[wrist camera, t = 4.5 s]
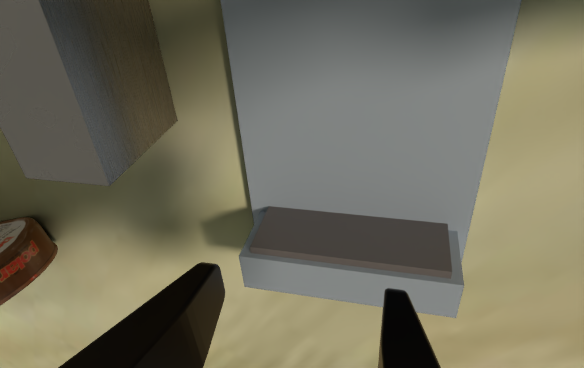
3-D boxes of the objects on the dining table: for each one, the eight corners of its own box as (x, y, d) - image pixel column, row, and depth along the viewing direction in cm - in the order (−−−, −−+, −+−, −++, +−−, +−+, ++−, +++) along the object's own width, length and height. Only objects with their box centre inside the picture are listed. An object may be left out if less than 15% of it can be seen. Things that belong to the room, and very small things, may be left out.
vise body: (585, -299, 11) (657, -381, 7) (455, 276, 22) (462, 340, 19) (192, -233, 13) (120, -273, 10) (261, 252, 25) (239, 305, 22)
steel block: (120, -124, 16) (-12, -132, 11) (178, 119, 21) (109, 186, 16) (32, -115, 16) (-125, -118, 12) (110, 116, 22) (26, 178, 17)
